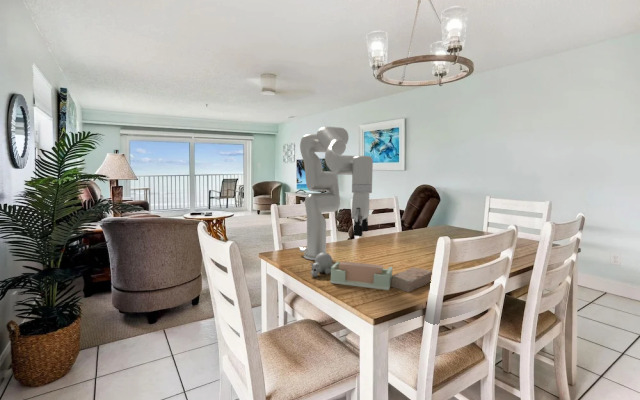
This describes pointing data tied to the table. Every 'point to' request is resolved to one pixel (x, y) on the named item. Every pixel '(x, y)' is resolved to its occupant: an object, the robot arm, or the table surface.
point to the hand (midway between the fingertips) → (360, 233)
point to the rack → (379, 282)
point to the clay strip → (360, 271)
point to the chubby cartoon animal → (322, 264)
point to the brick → (411, 279)
